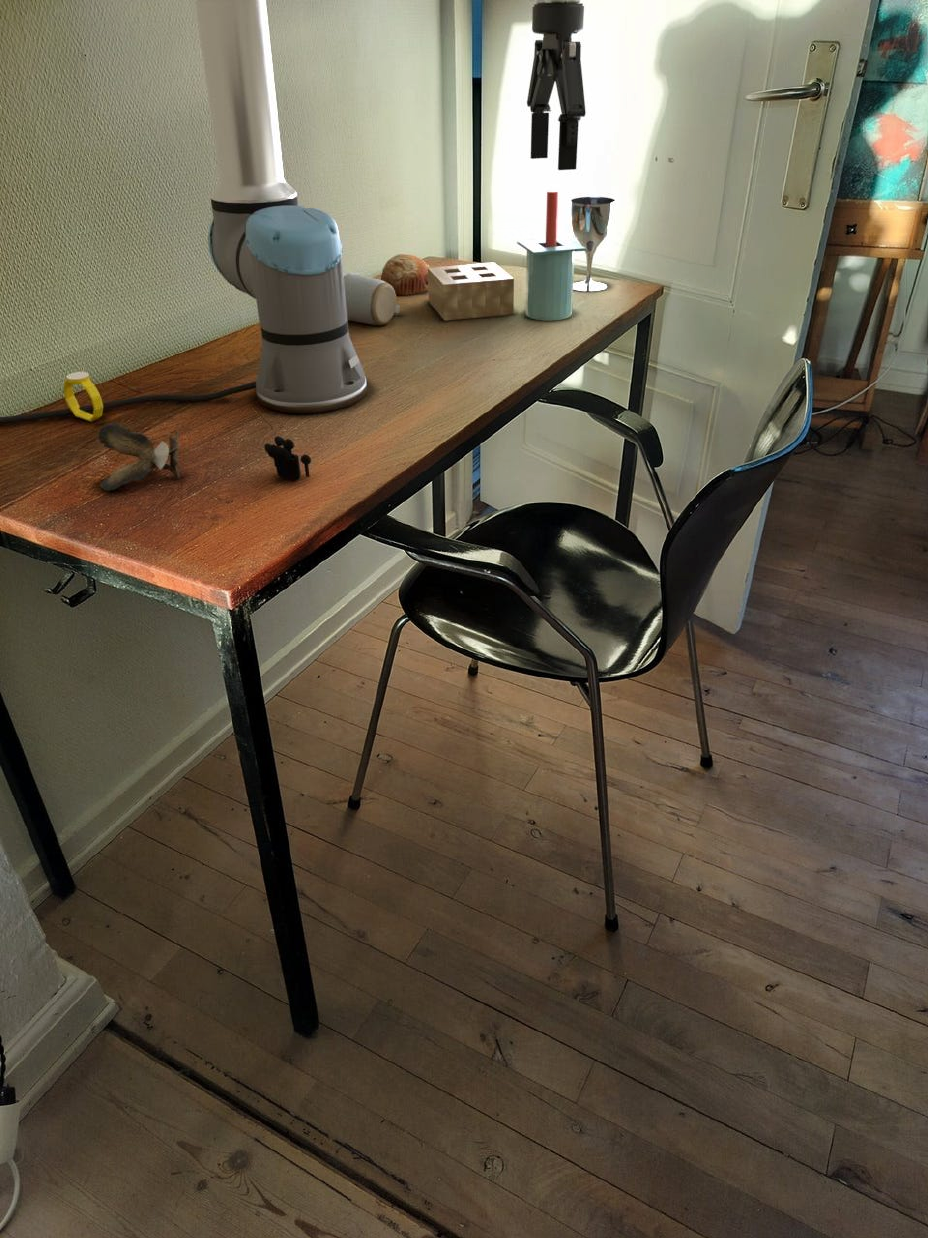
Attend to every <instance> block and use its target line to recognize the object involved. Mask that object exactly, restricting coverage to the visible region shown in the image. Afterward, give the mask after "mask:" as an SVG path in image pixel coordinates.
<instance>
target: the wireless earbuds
mask: <svg viewBox="0 0 928 1238" xmlns="http://www.w3.org/2000/svg"><path fill="white" fill-rule="evenodd" d="M274 443H275V444H271V443H268V442H267V443H265V444H264V451H265V453H266V454H267V455H268V456H269V457H270V458H271V459H273V463H274V467H275V470H276V474H277V476H278V477H280V478H282V479H285V480H288V481H292V482H297V481H299V480H300V479H301V476H302V474H301V466H300V462H301V464H303V465H304V473H305V478H309V477H310V476H311V475H310V468H309V465H311V463H312V458H311V457H310V456H309V455H308V454H302V455H301V457H300V459H299V455H298V454H295V453H293V451H292V450H293V449H294V448H295V443H294V441H292V439H289V438H287V439H284V438H283V437H281V436H278V435H277V436H275V437H274Z"/></svg>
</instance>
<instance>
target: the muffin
mask: <svg viewBox="0 0 928 1238" xmlns="http://www.w3.org/2000/svg"><path fill="white" fill-rule="evenodd" d="M428 268H431V267H430V265H429V264H428V263H427V262H425V260H424V259H422V258H420V257H417V256H416V255H414V254H409V253H397V254H396V255H394V256H392V257H391V258H389V259H388V260H387V261H386V263H385V264H384V266H383V267H382V270H381V275H380V280H382V281H384V282H386V283H388V284H390V285H391V286H392V287H393V289H394V291H395V294H396V296H407V295H417V294H422V293H425V292H429V291H428Z"/></svg>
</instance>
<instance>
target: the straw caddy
mask: <svg viewBox="0 0 928 1238" xmlns="http://www.w3.org/2000/svg"><path fill="white" fill-rule="evenodd" d="M427 292H428V302H429V304H430V305H431V306H432V308H433V309H434V310H435V311H436V312H437V314H438V315H439V316H440V317H441V319H442V320H443V321H457V320H467V319H476V318H477V319H478V318H486V317H487V318H488V317H489V318H490V317H499V316H507V315H509V316H510V315H514V311H515V310H514V308H515V307H514V306H515V305H514V304H515V302H514V301H515V299H514V298H515V278H514V277H513V276H511V275H510V274H509V273H508V272H506V270H504V269H503V268H502V267H500V266H499V265H498V263H496V262H481V263H470V264H469V263H468V264H458V265H457V264H456V265H447V266H445V265H443V266H434V267H430V268H428V291H427Z"/></svg>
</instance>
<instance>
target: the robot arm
mask: <svg viewBox="0 0 928 1238" xmlns="http://www.w3.org/2000/svg"><path fill="white" fill-rule="evenodd" d="M535 2H536V3H534V4H533V6H532V12H531V13H532V16H531V31H532V33H533V34H535V35H543V37H542V39H536V40H535V41H534V54H533V60H532V61H533V62H532V68H531V74H530V81H529V87H528V93H527V100H526V105H527V107H528V108H529V109H530V113H531V119H530V120H531V124H530V126H531V127H530V159H531V160H534V159H536V160H537V159H538V160H539V159H548V158H549V157H548V156H549V154H548V153H549V131H550V129H549V128H550V127H549V126H550V112H551V111H552V110H551V106H550V104H549V103H550V100H551V96H552V93H553V90H554V86H555V87H556V91H557V92H556V93H557V97H558V103H559V107H560V111H561V113H560V114H559V116H558V118H557V121H558V122H559V131H558V156H557V157H558V159H557V170H558V171H569V170H570V171H571V170H572V171H573V170H577V161H578V145H579V144H578V143H579V142H578V141H579V121H581V118H584V117H586V102H585V101H586V100H585V93H584V83H583V82H584V80H583V72H582V71H583V70H582V61H581V53H582V49H581V48H582V44H581V41H573V40H572V35H573V34H581V33H582V32H583V30H584V19H585V18H584V17H585V5H584V4H583V3H582V2H581V0H536V1H535ZM194 5H195V13H196V19H197V26H198V28H197V29H198V34H199V42H200V49H201V57H202V62H203V71H204V78H205V85H206V92H207V99H208V107H209V113H210V121H211V128H212V129H211V130H212V135H213V143H214V148H215V149H214V151H215V157H216V164H217V165H216V166H217V171H218V178H219V179H218V180H219V181H218V183H217V185H216V186H215V187H214V189H213V190H212V192H211V193H210V195H209V196H210V205H211V210H212V211H211V212H212V221H211V222H210V225H209V228H208V232H207V233H208V234H207V246H208V247H207V248H208V252H209V256H210V258H211V260H212V263H213V264H214V266H215V268H216V270H217V271H218V272H219V273H220V274H221V276H222V277H223V279H224V280H226V282H227V283H228V284H230V285H231V286H233V287H234V288H235V289H236V290H238V291H239V292H242V293H244V294H247V295H248V296H249V297H251V298H252V299H254V300H256V301H255V302H256V308H257V314H258V319H259V327H260V333H261V340H262V341H261V343H262V344H261V349H260V356H259V360H258V361H259V362H258V368H257V374H256V380H255V381H252V382H248V383H243V384H240V385H235V386H232V387H229V388H225V389H222V390H219V391H216V392H212V393H205V394H174V393H172V394H171V393H170V394H167V393H165V394H150V395H148V394H147V395H142V396H134V397H128V398H123V399H118V400H113V401H107V402H102V403H103V411H105V410H109V409H115V408H120V407H125V406H126V407H127V406H131V405H137V404H144V403H153V402H182V403H183V402H185V403H186V402H187V403H188V402H189V403H197V402H200V403H201V402H209V401H214V400H218V399H221V398H225V397H228V396H231V395H234V394H239V393H242V392H246V391H250V390H254V389H255V392H256V398H257V402H259V404H260V405H261V406H263V407H264V408H267V409H270V410H272V411H276V412H281V413H287V414H289V413H290V414H317V413H325V412H330V411H336V410H340V409H342V408H346V407H349V406H351V405H353V404H356V403H357V402H359V401H360V400H362V399H363V398H364V397H365V396H366V394H367V392H368V385H367V378H366V374H365V370H364V369H363V366H362V363H361V361H360V359H359V356H358V355H357V354H358V353H357V351H356V350H355V347H354V344H353V342H352V340H351V337H350V332H349V331H350V330H349V322H348V321H349V320H347V308H346V297H345V285H344V276H345V274H344V263H343V243H342V241H341V237H340V232H339V226H338V223H337V222H336V220H335V219H334V218H333V217H332V216H331V215H330V214H329V213H327V212H324V211H323V210H321V209H317V208H314V207H305V206H302V205H299V202H298V192H297V190H295V189H294V188H293V186H292V185H290V184H289V183H288V182H287V180H286V179H285V176H284V175H285V174H284V166H283V165H284V164H283V155H282V146H281V145H282V144H281V134H280V126H279V117H278V105H277V95H276V86H275V77H274V76H275V75H274V67H273V66H274V65H273V57H272V47H271V40H270V39H271V37H270V28H269V27H270V26H269V19H268V17H269V16H268V8H267V0H194ZM79 409H80V410H82V411H84V412H87V413H91V412H92V413H93V411H94V408H93V404H87V405H80V407H79ZM72 415H74V413H73V412H72V411H71V410H70V408H69V407H68V408H61V409H53V410H48V411H47V410H46V411H40V412H32V413H23V414H16V415H8V416H0V425H4V424H14V423H21V422H30V421H37V420H45V419H52V418H59V417H66V416H72Z"/></svg>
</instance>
